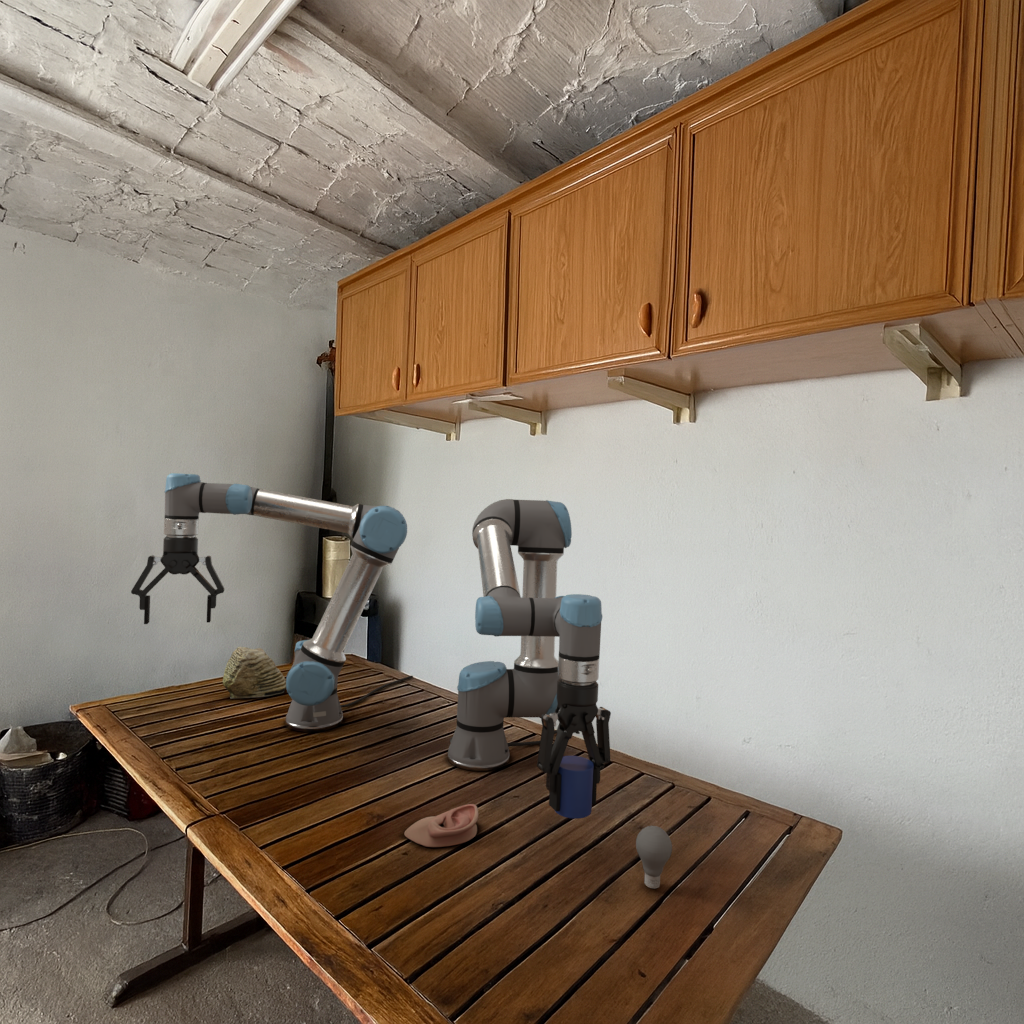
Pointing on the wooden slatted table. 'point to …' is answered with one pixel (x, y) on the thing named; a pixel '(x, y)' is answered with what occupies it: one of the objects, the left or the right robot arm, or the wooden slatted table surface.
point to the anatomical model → (445, 827)
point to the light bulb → (653, 853)
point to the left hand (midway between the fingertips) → (178, 622)
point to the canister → (576, 787)
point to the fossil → (252, 674)
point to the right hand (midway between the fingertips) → (572, 804)
